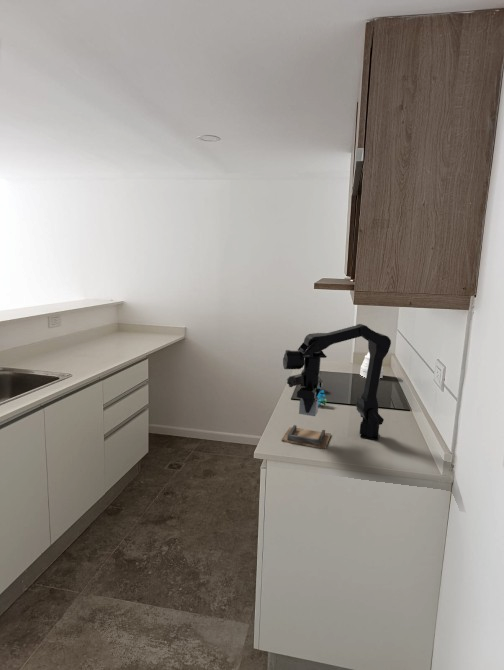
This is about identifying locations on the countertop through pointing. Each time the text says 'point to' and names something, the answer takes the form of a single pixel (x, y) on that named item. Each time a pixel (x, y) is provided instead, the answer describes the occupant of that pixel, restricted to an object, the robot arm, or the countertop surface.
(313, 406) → the block
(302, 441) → the dock
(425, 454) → the countertop surface
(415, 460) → the countertop surface
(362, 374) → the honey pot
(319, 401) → the blue splash shape
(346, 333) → the robot arm
